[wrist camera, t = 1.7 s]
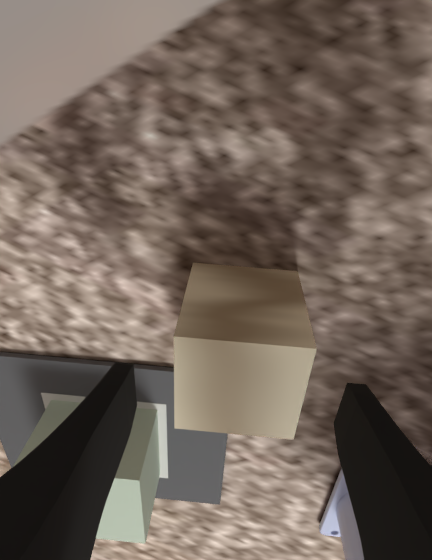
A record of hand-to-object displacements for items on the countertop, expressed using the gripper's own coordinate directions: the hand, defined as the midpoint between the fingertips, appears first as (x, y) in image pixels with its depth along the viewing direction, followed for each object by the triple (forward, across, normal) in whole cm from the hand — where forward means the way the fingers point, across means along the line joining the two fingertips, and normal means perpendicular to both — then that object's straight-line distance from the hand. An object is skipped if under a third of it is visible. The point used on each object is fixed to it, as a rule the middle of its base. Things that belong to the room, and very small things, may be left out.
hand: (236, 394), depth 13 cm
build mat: (+5, +7, +10) cm, 13 cm away
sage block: (+5, +7, +10) cm, 13 cm away
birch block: (+5, 0, 0) cm, 5 cm away
